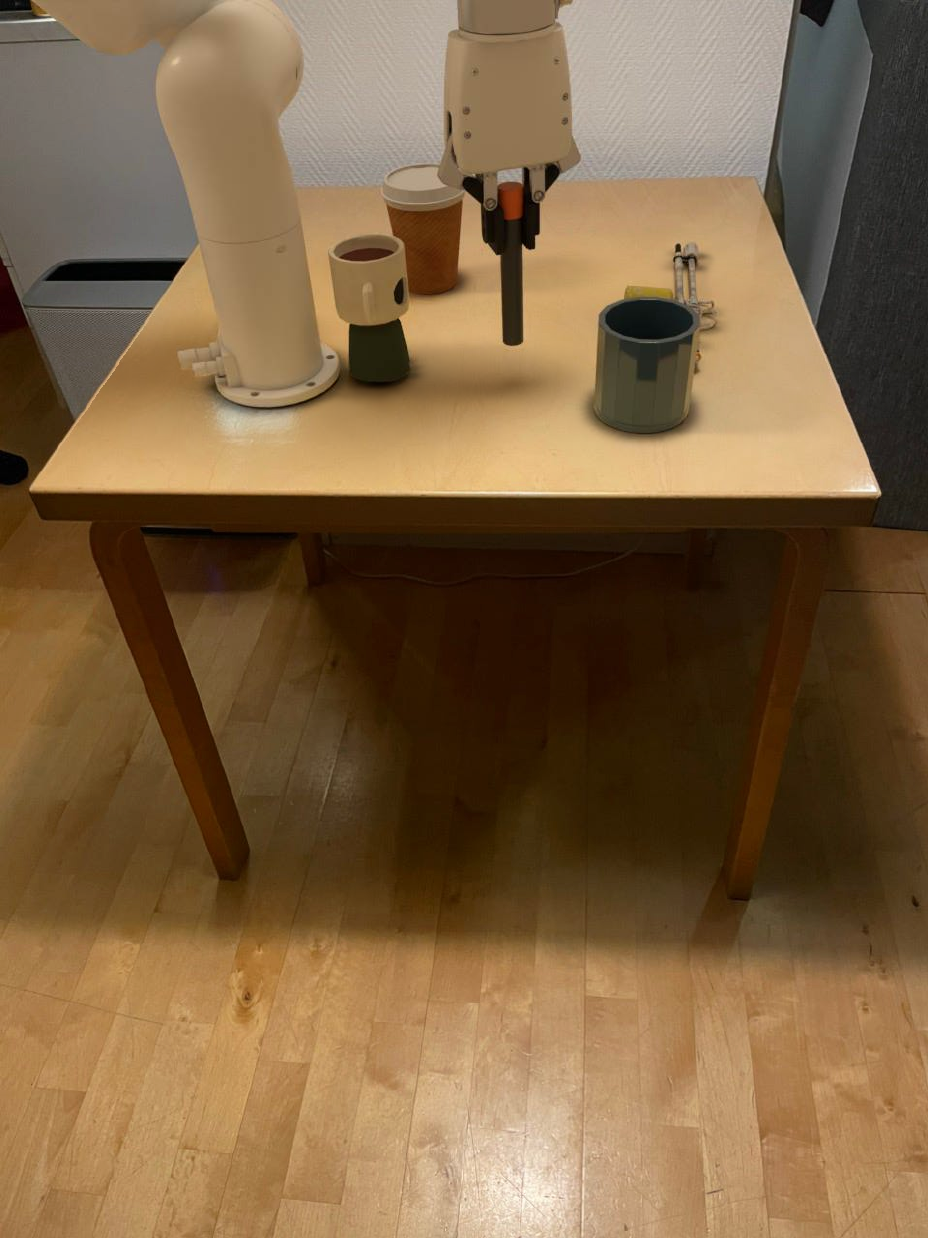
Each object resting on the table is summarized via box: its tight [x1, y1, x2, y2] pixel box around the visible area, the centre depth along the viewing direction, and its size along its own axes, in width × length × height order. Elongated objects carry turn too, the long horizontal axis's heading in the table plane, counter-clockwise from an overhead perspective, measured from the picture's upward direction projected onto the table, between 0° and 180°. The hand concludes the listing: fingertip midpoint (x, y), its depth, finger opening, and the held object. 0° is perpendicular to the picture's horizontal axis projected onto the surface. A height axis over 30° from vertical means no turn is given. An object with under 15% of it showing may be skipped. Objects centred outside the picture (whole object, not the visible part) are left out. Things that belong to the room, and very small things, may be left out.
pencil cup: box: [593, 297, 701, 434], centre depth 89 cm, size 9×9×9 cm
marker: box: [497, 181, 524, 347], centre depth 88 cm, size 2×2×14 cm
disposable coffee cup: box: [379, 162, 467, 295], centre depth 110 cm, size 10×10×12 cm
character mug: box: [327, 232, 411, 383], centre depth 94 cm, size 11×7×13 cm, turn 3°
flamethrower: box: [623, 241, 719, 363], centre depth 105 cm, size 29×3×10 cm
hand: (511, 245), depth 87 cm, fingers closed on marker, 2 cm apart
